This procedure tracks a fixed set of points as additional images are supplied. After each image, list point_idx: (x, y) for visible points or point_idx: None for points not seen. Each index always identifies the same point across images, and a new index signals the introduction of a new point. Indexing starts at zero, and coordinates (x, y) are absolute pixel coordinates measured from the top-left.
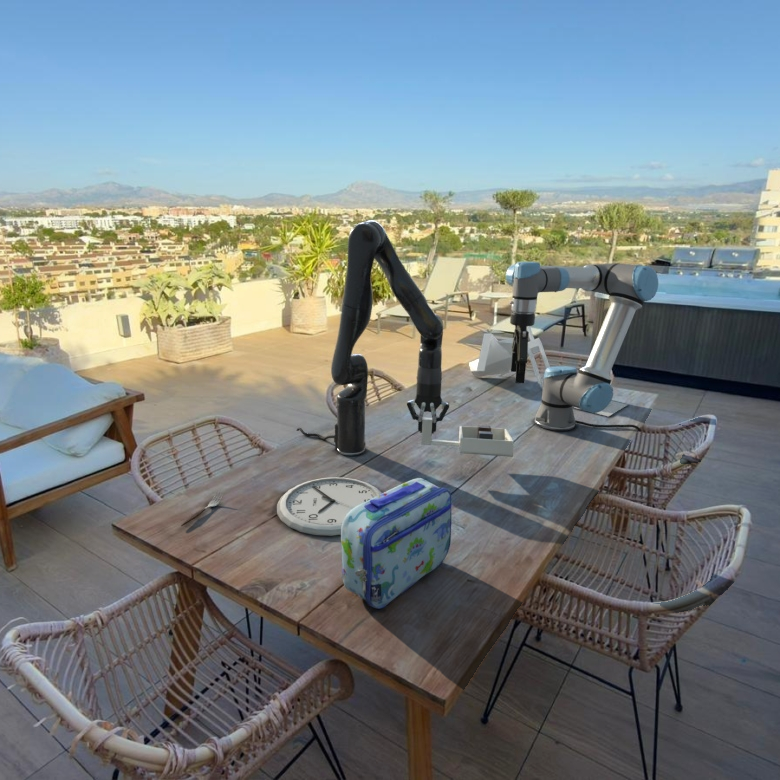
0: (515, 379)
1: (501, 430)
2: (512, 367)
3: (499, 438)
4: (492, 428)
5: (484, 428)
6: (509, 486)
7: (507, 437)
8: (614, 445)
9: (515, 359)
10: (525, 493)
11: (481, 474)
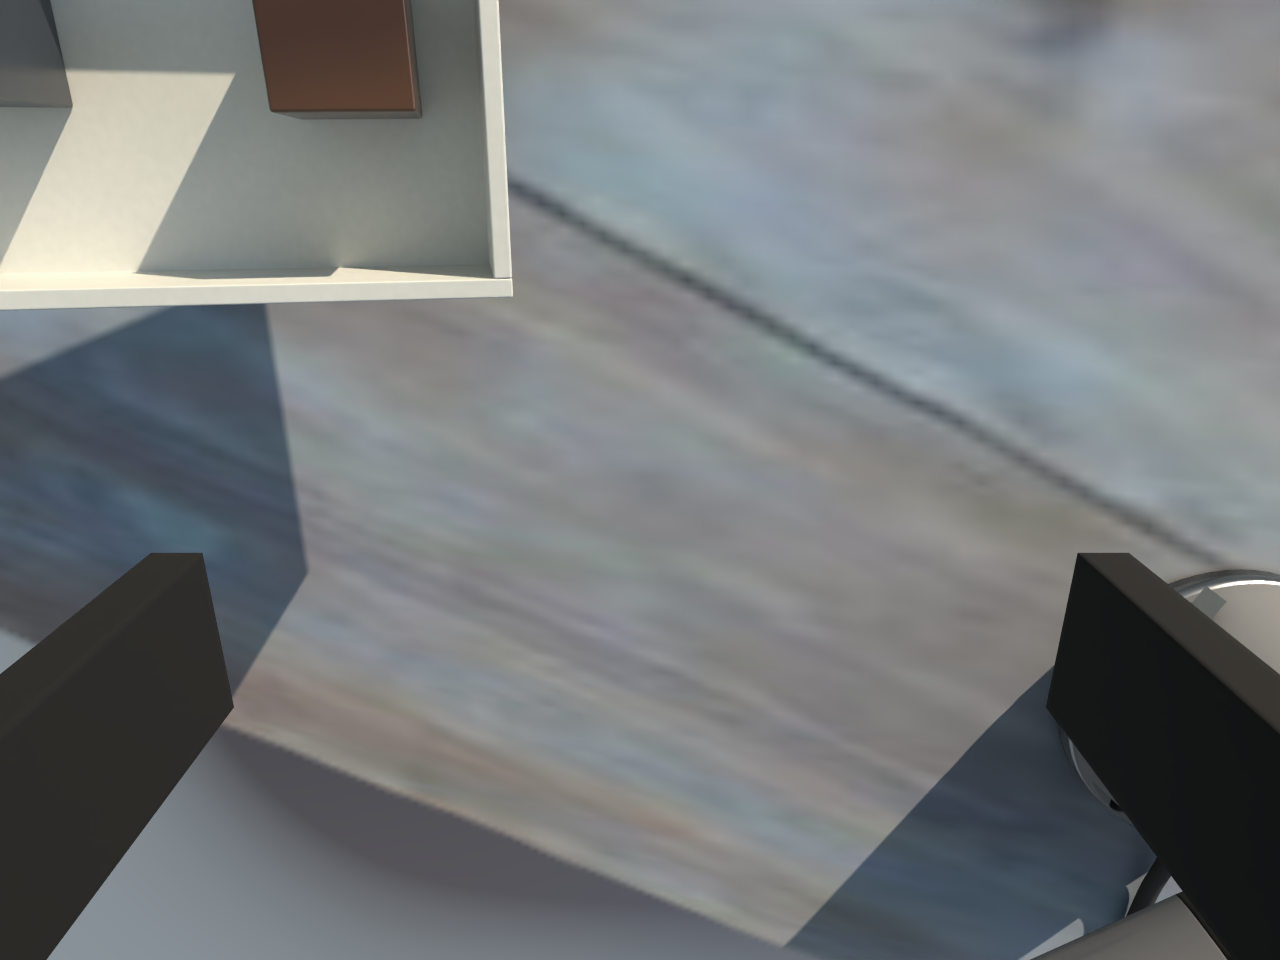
0: (145, 585)
1: (491, 247)
2: (1129, 627)
3: (487, 225)
4: (487, 149)
5: (257, 28)
6: None
7: (173, 282)
8: (834, 939)
9: (1256, 832)
10: (3, 353)
11: None
